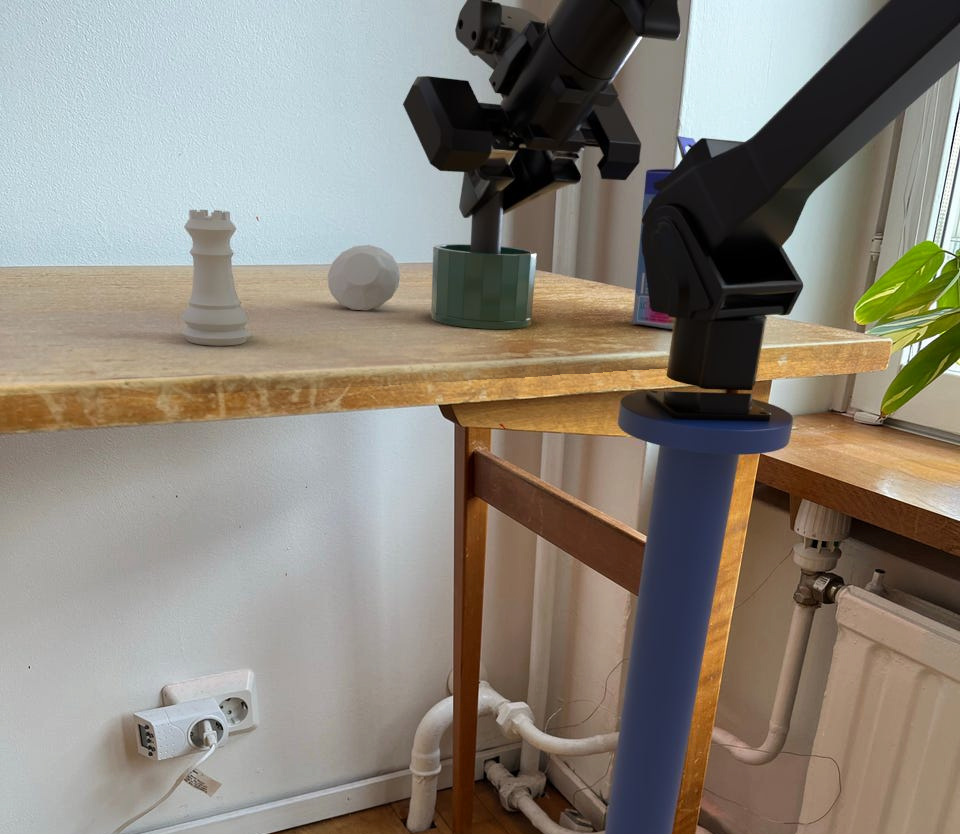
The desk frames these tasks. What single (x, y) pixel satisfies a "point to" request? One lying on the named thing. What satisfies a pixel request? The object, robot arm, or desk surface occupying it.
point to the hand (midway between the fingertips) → (476, 213)
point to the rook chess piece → (213, 283)
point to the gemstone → (363, 277)
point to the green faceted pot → (482, 287)
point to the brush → (488, 227)
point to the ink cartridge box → (642, 302)
